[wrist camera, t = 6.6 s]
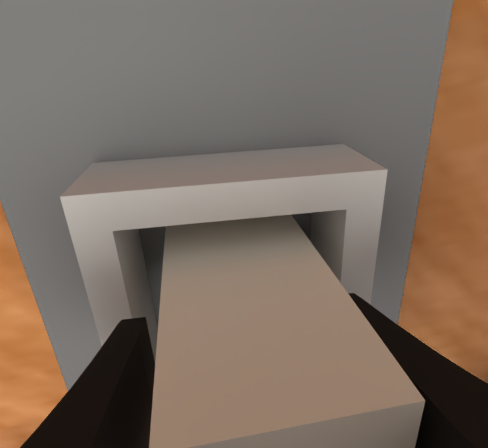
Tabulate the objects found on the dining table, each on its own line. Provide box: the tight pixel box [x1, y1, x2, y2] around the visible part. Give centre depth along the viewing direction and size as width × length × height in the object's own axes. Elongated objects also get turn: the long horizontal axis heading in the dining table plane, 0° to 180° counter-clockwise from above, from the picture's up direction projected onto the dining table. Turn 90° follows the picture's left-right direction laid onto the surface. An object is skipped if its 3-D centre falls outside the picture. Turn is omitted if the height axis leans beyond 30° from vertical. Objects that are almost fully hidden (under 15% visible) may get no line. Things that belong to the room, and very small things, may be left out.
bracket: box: [0, 0, 453, 391], centre depth 12 cm, size 14×18×4 cm
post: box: [149, 215, 425, 448], centre depth 9 cm, size 4×4×8 cm
